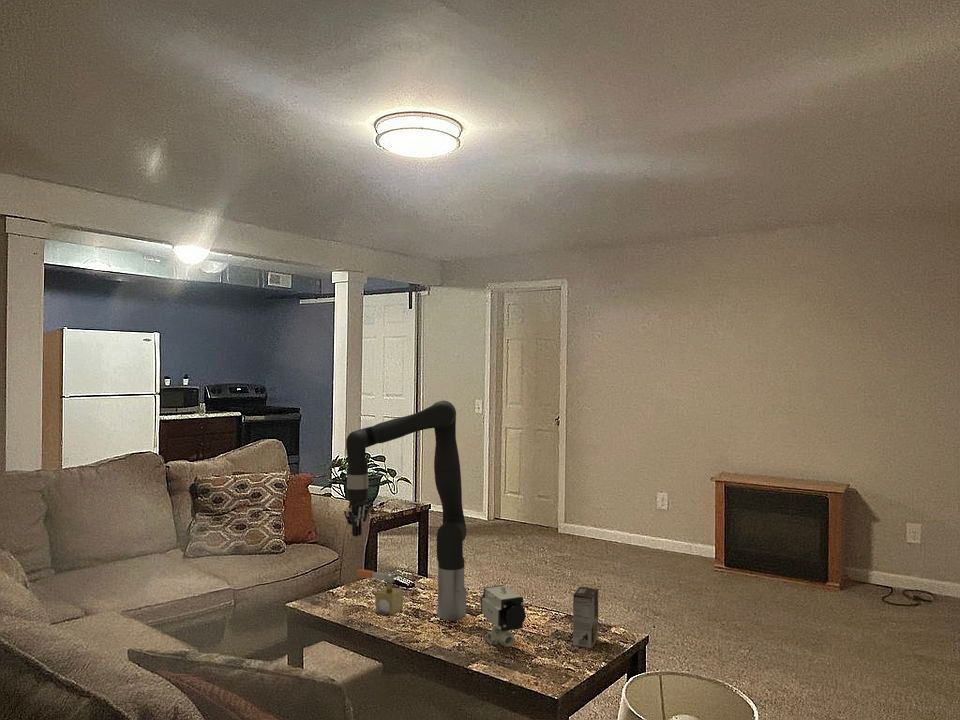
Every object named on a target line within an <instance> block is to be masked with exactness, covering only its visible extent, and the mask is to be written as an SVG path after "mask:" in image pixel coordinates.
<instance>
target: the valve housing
mask: <svg viewBox="0 0 960 720" xmlns="http://www.w3.org/2000/svg"><path fill="white" fill-rule="evenodd" d="M403 602H404V590H403V589H401V588H395V587H393V582H391V583H388V582H386V586H385V587H382V589H380V590H378V591H376V592H375V606H374V607H375V609H374V610H375V613H378V614H380V615H383V616H384V615H388V616H394V615H395V614H397V613H399V612H401V610H403V608H404V607H403V606H404V605H403V604H404V603H403Z"/></svg>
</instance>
